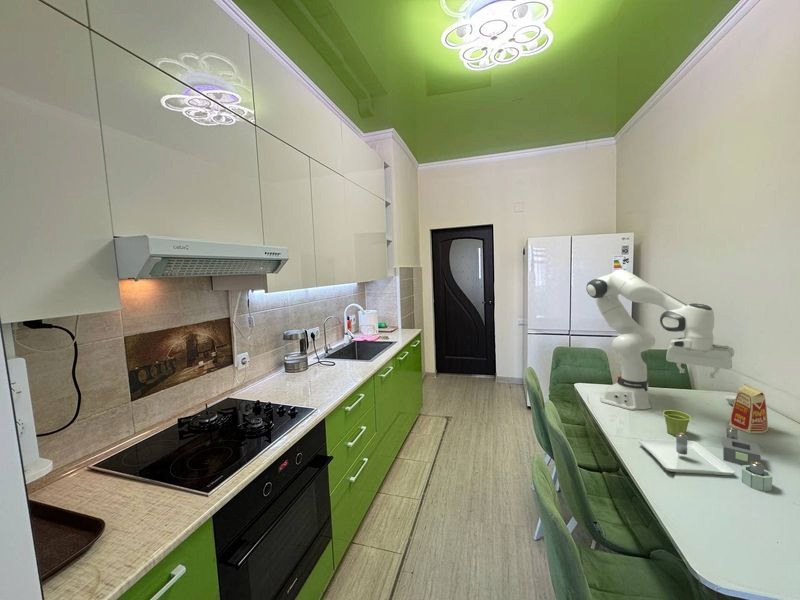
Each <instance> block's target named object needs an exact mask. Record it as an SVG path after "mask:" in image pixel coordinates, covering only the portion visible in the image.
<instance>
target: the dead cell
mask: <svg viewBox="0 0 800 600" xmlns="http://www.w3.org/2000/svg"><path fill="white" fill-rule="evenodd" d="M764 469H765V465H764V464H763V463H761V462H760V463H759V462H754V461H751V462H750V472H751V473H753V474H756V475H760V476H764Z"/></svg>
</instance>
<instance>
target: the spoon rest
mask: <svg viewBox="0 0 800 600" xmlns="http://www.w3.org/2000/svg"><path fill="white" fill-rule="evenodd" d="M724 398H725V400H726V402H728V403H729V404H730V405H731V406H733V405H734V401H735V398H736V395H726V396H725V397H724Z"/></svg>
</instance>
